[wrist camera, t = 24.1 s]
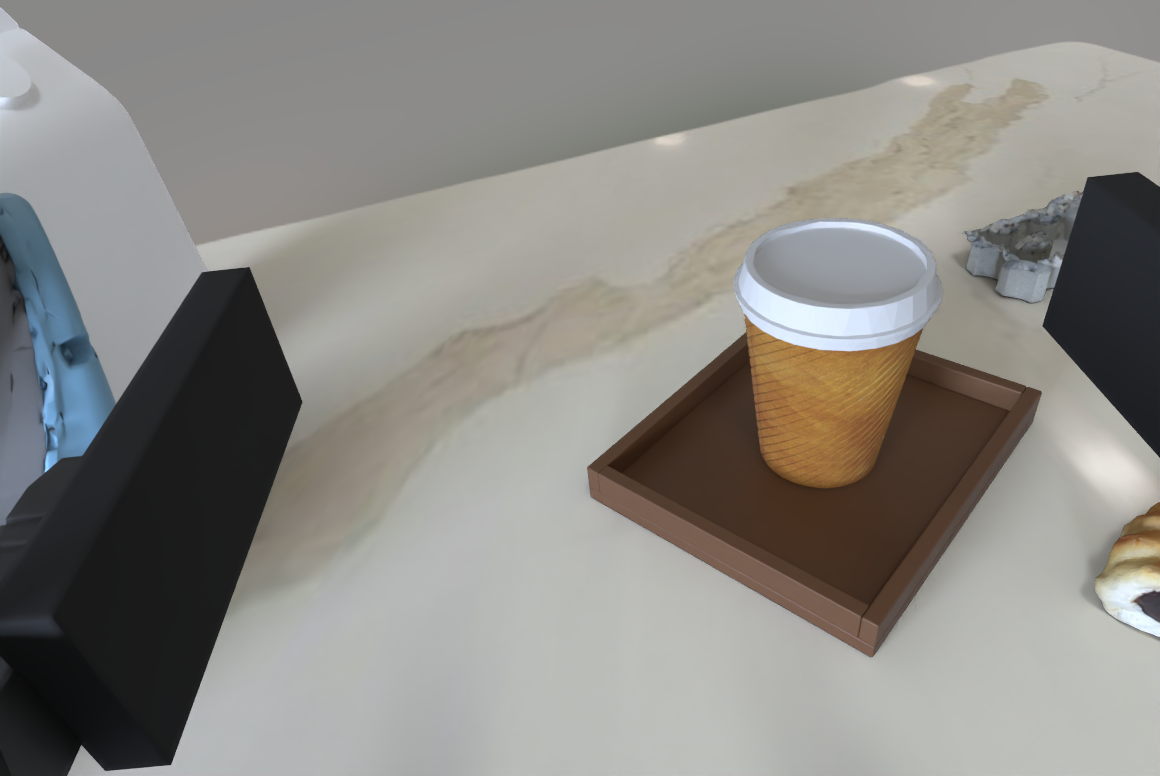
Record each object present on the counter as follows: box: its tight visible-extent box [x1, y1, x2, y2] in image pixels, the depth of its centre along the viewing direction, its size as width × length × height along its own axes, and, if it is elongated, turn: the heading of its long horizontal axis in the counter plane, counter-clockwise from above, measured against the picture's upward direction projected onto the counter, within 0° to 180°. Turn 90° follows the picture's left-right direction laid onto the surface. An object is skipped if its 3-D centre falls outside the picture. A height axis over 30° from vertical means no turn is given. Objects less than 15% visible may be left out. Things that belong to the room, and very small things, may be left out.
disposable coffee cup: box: [734, 218, 943, 488], centre depth 42 cm, size 10×10×12 cm
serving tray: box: [587, 332, 1042, 657], centre depth 45 cm, size 17×20×2 cm
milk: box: [0, 7, 208, 403], centre depth 51 cm, size 12×12×26 cm
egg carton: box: [962, 191, 1083, 303], centre depth 58 cm, size 11×8×4 cm
